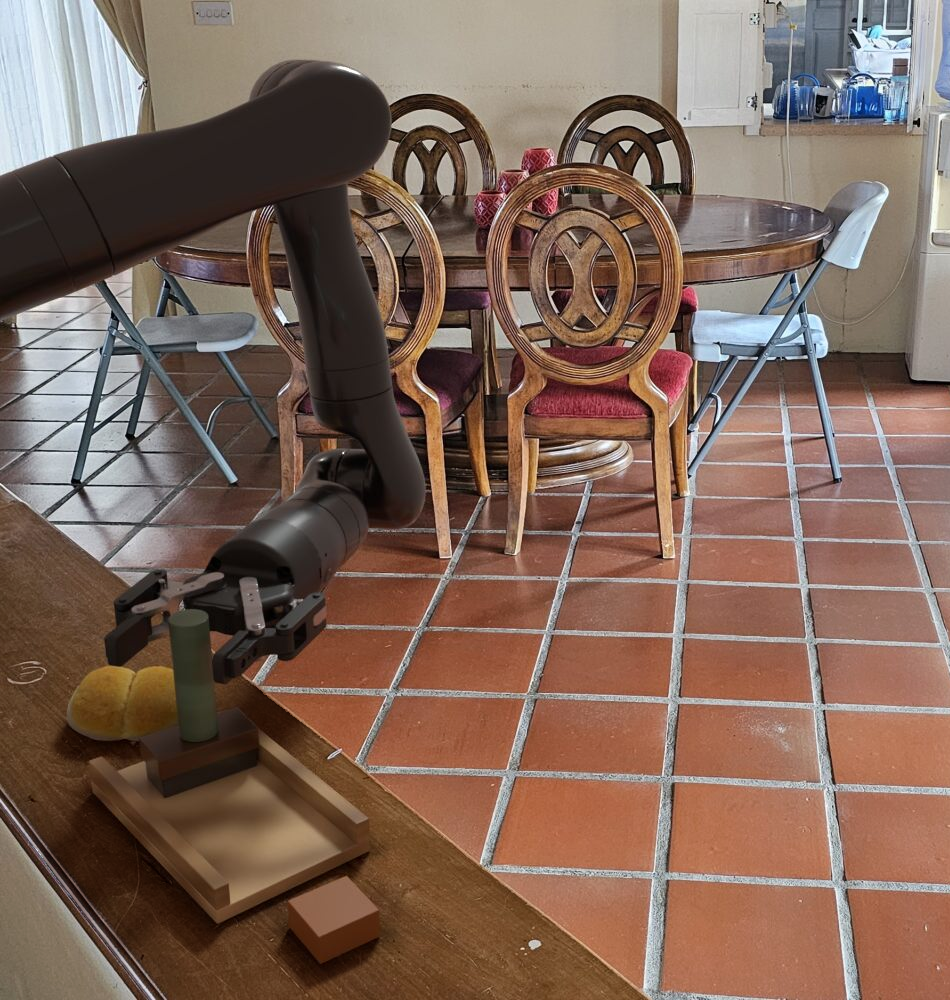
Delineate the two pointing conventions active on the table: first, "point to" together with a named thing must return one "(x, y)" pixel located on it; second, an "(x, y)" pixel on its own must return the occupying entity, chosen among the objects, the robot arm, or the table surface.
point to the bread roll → (123, 703)
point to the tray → (238, 828)
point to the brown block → (333, 919)
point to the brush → (197, 718)
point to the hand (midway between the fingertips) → (164, 662)
